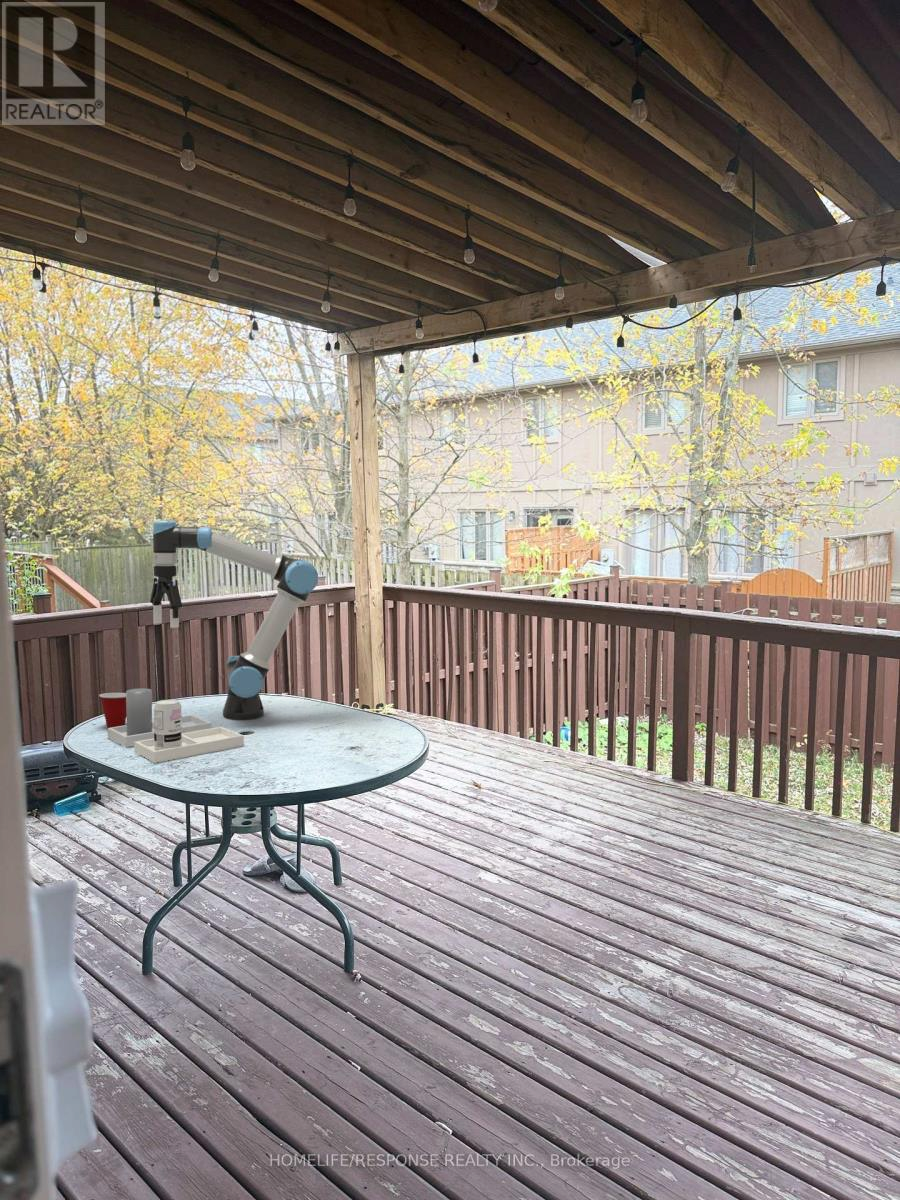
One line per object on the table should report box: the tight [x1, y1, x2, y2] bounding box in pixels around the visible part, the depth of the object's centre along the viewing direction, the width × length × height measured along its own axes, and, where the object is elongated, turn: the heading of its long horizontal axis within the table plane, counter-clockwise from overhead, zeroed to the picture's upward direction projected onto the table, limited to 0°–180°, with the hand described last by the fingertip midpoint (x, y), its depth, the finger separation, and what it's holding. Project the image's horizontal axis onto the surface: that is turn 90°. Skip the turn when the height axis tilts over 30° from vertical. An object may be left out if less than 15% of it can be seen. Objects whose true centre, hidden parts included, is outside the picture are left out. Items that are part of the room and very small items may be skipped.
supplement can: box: [153, 699, 182, 751], centre depth 251 cm, size 8×8×15 cm
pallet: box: [133, 726, 245, 764], centre depth 257 cm, size 30×15×4 cm, turn 134°
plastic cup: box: [98, 692, 127, 729], centre depth 283 cm, size 11×11×12 cm
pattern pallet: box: [107, 687, 213, 748], centre depth 272 cm, size 30×15×16 cm, turn 134°
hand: (166, 625), depth 279 cm, fingers open, 13 cm apart
